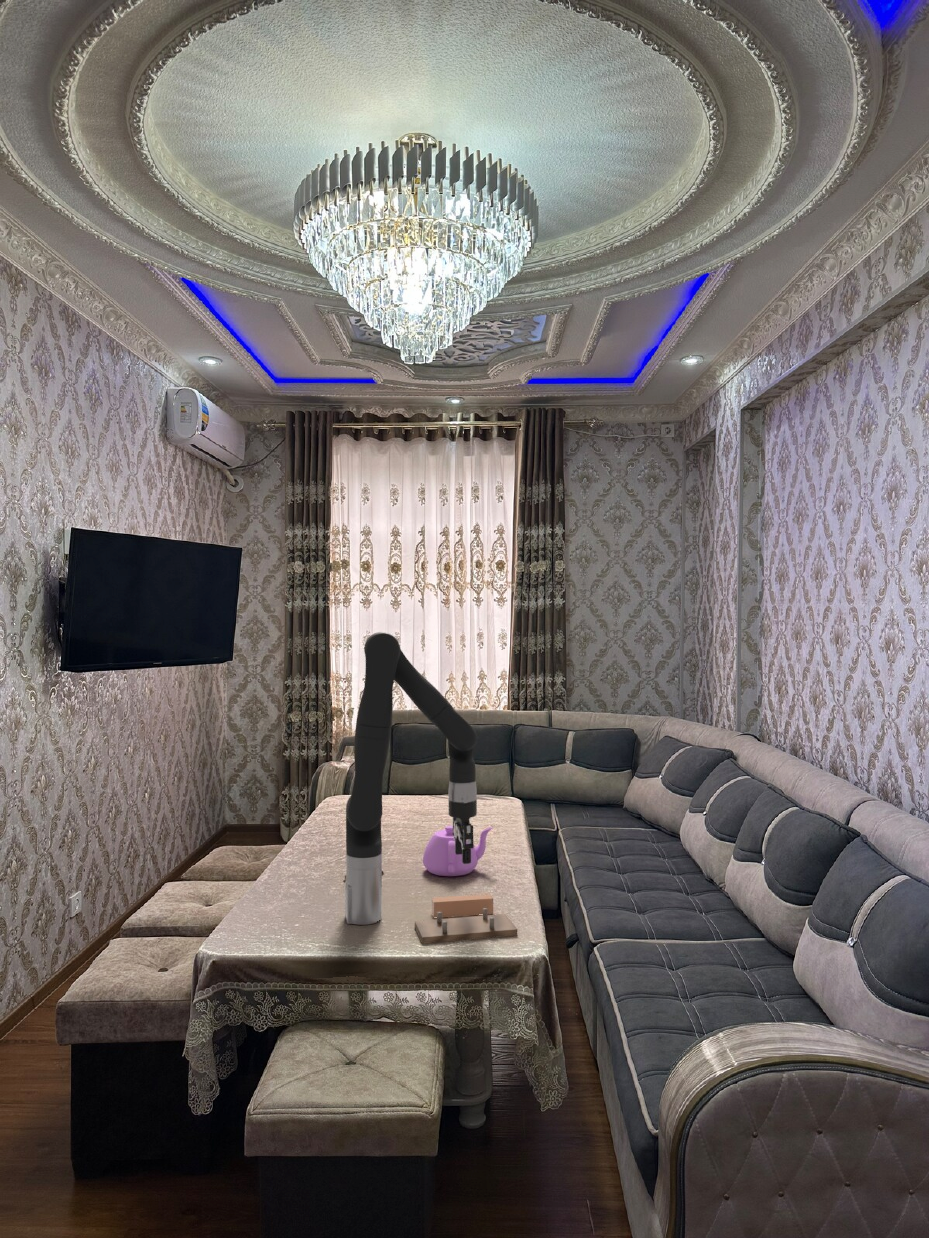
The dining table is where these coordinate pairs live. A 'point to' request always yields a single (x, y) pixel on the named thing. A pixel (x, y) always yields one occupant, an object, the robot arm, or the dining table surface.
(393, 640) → the robot arm
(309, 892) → the dining table surface
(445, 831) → the teapot
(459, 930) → the rack
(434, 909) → the clay strip
